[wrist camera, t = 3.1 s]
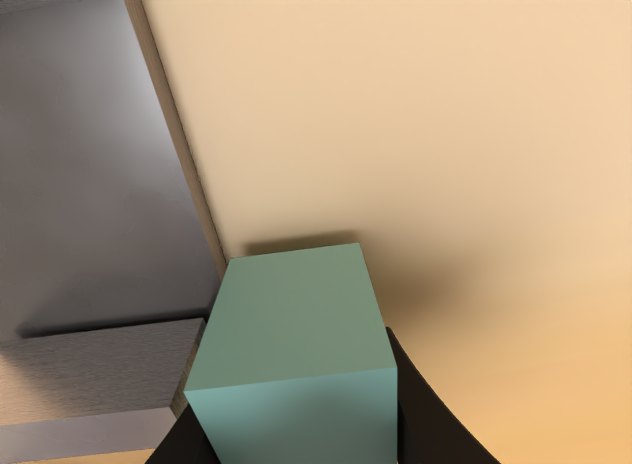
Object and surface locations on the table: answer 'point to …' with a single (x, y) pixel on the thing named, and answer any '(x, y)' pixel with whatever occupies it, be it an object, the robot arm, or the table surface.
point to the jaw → (94, 390)
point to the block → (297, 363)
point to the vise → (95, 177)
